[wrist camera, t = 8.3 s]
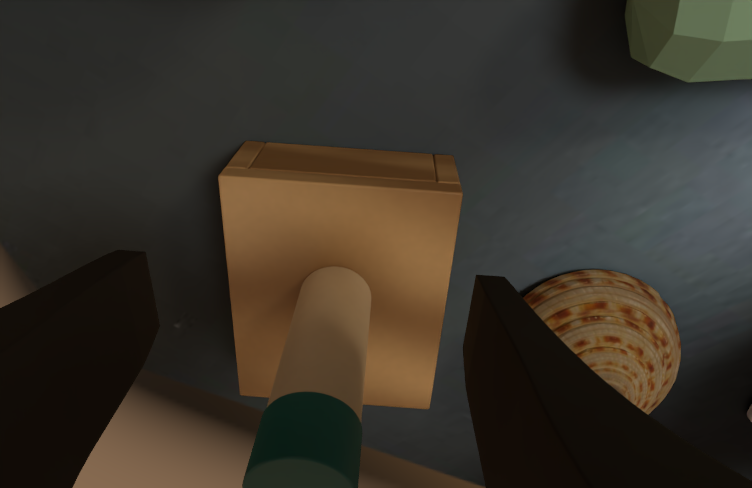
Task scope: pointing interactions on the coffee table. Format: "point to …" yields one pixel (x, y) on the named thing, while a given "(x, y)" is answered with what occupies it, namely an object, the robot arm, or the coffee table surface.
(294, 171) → the wooden box
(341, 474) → the marker
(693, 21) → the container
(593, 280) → the seashell
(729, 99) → the coffee table surface
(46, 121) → the coffee table surface
